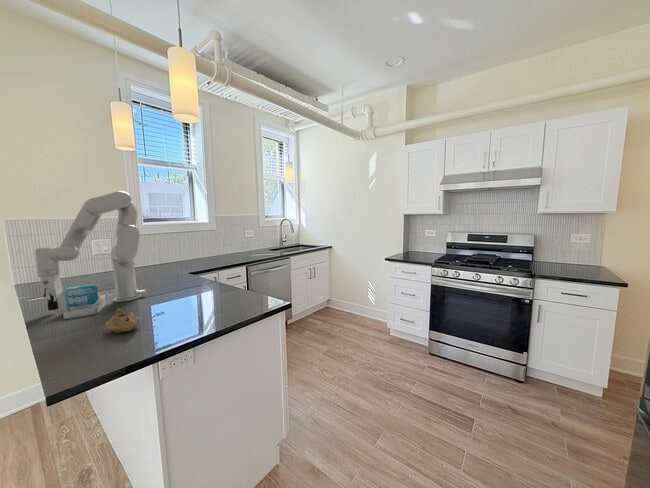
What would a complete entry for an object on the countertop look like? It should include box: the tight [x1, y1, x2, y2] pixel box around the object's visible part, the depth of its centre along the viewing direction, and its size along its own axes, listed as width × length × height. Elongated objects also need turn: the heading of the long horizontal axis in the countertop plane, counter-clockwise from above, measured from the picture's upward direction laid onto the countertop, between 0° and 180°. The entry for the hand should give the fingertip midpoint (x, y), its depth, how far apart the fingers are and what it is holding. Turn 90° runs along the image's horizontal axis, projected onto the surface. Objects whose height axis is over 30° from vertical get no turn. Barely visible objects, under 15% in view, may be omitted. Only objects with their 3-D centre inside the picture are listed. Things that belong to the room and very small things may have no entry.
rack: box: [62, 293, 107, 320], centre depth 134 cm, size 12×18×5 cm, turn 29°
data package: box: [64, 283, 99, 312], centre depth 136 cm, size 12×4×12 cm, turn 132°
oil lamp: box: [104, 307, 140, 334], centre depth 108 cm, size 11×15×8 cm
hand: (53, 309), depth 131 cm, fingers closed
